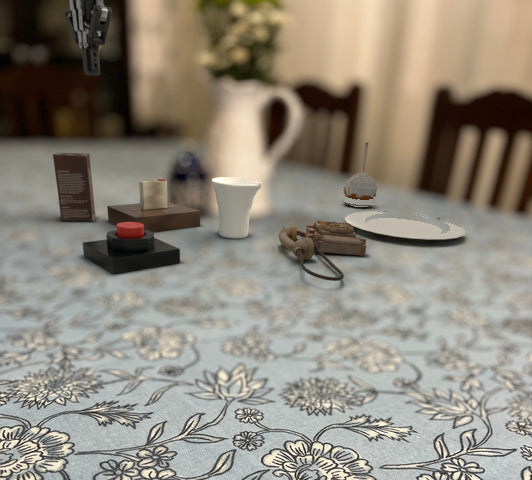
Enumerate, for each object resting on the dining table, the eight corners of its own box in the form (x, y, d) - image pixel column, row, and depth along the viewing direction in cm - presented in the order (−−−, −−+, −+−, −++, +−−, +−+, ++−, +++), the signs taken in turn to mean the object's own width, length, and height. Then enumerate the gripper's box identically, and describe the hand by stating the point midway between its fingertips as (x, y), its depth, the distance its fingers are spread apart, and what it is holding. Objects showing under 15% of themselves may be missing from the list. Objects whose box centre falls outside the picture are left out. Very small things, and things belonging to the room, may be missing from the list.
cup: (249, 243, 92) (251, 185, 88) (202, 236, 95) (202, 179, 90) (266, 233, 100) (269, 179, 95) (222, 226, 102) (223, 173, 98)
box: (95, 216, 103) (90, 152, 98) (93, 221, 99) (87, 155, 94) (64, 216, 102) (56, 151, 97) (59, 221, 98) (52, 153, 93)
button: (124, 241, 75) (124, 229, 75) (112, 235, 78) (111, 223, 77) (149, 237, 78) (148, 226, 77) (136, 232, 80) (135, 220, 80)
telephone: (293, 286, 72) (297, 256, 70) (271, 230, 101) (273, 208, 100) (397, 293, 74) (403, 264, 72) (345, 237, 103) (349, 215, 101)
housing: (113, 274, 73) (111, 246, 71) (83, 256, 79) (81, 230, 78) (180, 262, 80) (179, 236, 78) (147, 247, 86) (146, 223, 84)
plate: (439, 254, 93) (441, 245, 92) (321, 228, 106) (322, 220, 105) (481, 233, 111) (483, 225, 111) (376, 213, 124) (377, 205, 124)
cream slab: (144, 209, 98) (142, 181, 95) (140, 208, 99) (139, 179, 96) (167, 207, 101) (166, 179, 98) (163, 206, 102) (162, 178, 99)
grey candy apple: (365, 203, 136) (374, 141, 129) (379, 209, 129) (389, 144, 123) (338, 202, 134) (345, 140, 127) (350, 209, 127) (359, 143, 120)
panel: (136, 234, 93) (135, 216, 92) (108, 221, 100) (107, 205, 99) (200, 226, 102) (200, 209, 100) (170, 215, 109) (170, 199, 107)
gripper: (125, -55, 76) (132, 78, 84) (87, -44, 85) (96, 76, 93) (75, -67, 72) (87, 74, 80) (40, -54, 80) (54, 73, 88)
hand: (92, 75), depth 86 cm, fingers closed
